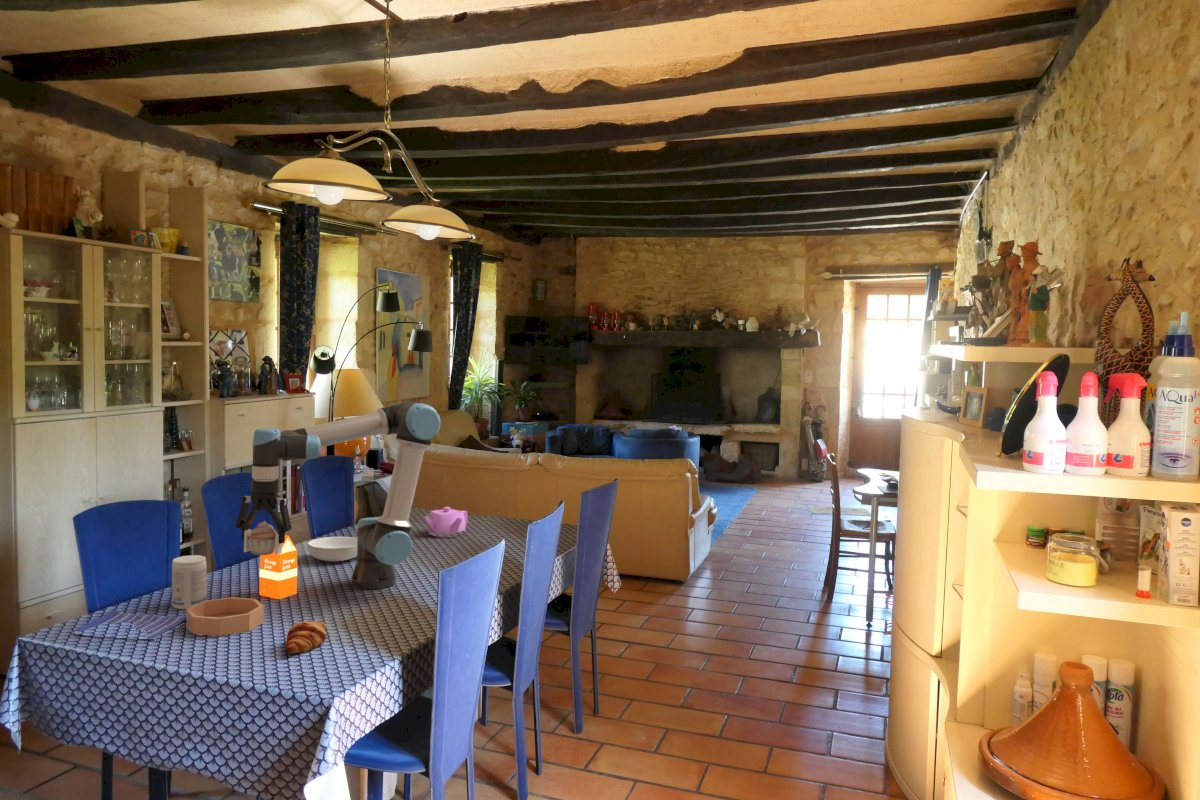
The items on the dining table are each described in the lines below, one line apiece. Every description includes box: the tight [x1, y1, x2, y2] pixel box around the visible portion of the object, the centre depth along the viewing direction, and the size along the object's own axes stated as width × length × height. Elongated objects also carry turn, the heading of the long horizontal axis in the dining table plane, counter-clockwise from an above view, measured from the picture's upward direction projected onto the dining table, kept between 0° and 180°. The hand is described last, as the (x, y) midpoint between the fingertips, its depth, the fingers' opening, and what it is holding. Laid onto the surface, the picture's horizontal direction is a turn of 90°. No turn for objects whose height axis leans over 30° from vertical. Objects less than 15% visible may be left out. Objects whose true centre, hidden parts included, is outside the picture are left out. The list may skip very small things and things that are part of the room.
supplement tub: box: [171, 554, 208, 610], centre depth 251 cm, size 10×10×15 cm
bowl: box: [185, 596, 265, 637], centre depth 235 cm, size 19×19×5 cm
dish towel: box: [74, 609, 186, 638], centre depth 230 cm, size 17×24×3 cm
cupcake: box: [247, 520, 278, 556], centre depth 248 cm, size 9×9×10 cm
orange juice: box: [259, 534, 298, 600], centre depth 266 cm, size 8×9×20 cm
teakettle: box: [423, 506, 469, 535], centre depth 362 cm, size 17×17×12 cm
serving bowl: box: [307, 536, 357, 563], centre depth 313 cm, size 21×21×7 cm
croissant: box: [284, 620, 327, 654], centre depth 223 cm, size 21×10×8 cm, turn 176°
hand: (262, 552), depth 248 cm, fingers closed on cupcake, 9 cm apart
